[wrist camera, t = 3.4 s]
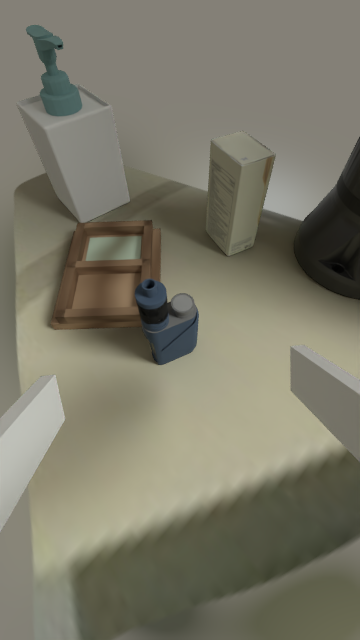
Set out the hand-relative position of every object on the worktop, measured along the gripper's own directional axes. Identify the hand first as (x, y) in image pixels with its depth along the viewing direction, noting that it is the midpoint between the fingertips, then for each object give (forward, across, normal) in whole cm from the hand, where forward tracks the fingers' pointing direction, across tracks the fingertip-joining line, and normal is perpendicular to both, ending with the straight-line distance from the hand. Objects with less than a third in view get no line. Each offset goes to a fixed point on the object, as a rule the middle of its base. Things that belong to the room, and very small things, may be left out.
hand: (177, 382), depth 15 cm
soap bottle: (+34, +10, -16) cm, 39 cm away
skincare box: (+26, -10, -8) cm, 29 cm away
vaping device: (+14, 0, +3) cm, 15 cm away
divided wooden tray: (+22, +6, -5) cm, 24 cm away
